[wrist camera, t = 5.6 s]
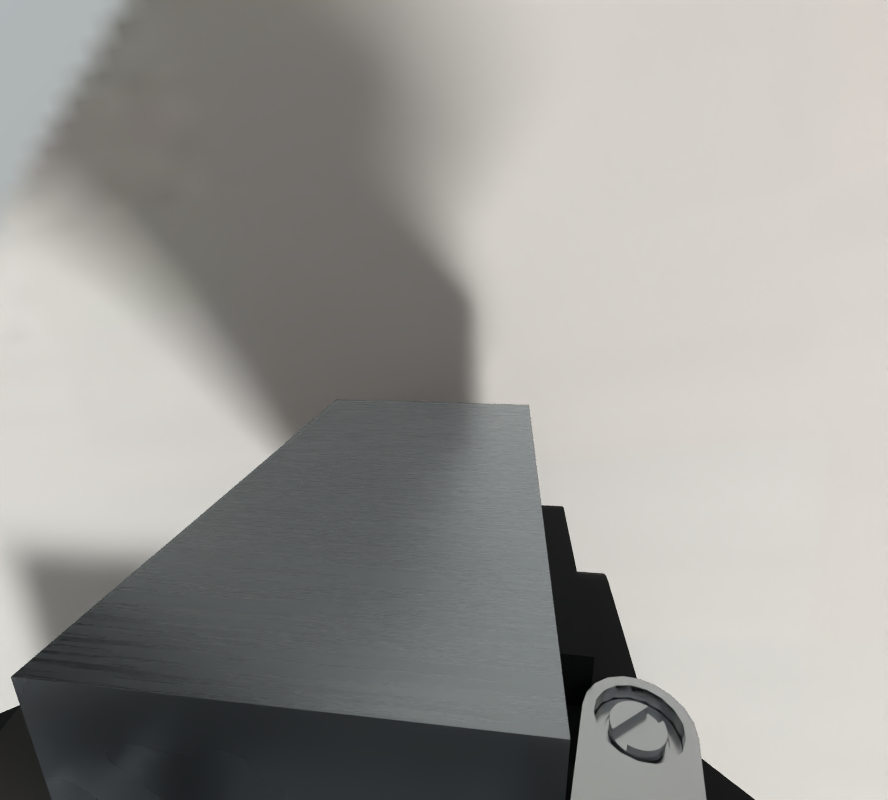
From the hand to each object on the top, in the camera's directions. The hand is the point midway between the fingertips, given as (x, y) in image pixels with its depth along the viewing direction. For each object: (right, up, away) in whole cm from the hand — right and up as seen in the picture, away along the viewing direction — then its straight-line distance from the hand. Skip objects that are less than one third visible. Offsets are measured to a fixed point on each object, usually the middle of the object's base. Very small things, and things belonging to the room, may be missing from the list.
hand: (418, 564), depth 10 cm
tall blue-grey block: (0, +1, +2) cm, 2 cm away
